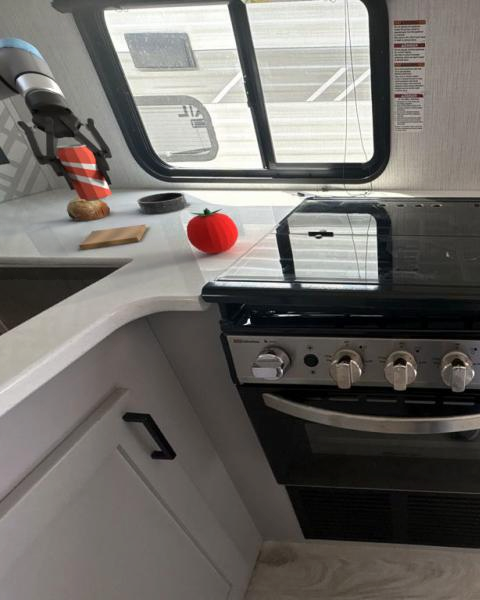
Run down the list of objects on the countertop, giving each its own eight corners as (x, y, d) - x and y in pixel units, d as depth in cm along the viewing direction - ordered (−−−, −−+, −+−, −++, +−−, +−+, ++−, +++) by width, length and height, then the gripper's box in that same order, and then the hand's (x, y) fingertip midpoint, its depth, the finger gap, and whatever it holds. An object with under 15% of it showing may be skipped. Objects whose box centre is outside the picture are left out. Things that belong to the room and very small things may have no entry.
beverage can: (118, 196, 83) (94, 144, 77) (89, 203, 78) (61, 148, 72) (104, 194, 85) (79, 143, 79) (75, 200, 80) (46, 147, 74)
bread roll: (75, 229, 104) (50, 209, 98) (99, 207, 109) (76, 187, 103) (98, 232, 102) (73, 212, 95) (121, 209, 107) (99, 189, 100)
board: (81, 249, 81) (78, 245, 80) (94, 235, 89) (92, 231, 89) (139, 241, 85) (137, 237, 84) (146, 228, 93) (145, 224, 93)
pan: (138, 216, 103) (133, 205, 101) (146, 205, 114) (141, 195, 112) (185, 210, 108) (182, 199, 106) (189, 200, 118) (185, 190, 116)
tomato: (190, 250, 79) (174, 209, 74) (235, 240, 85) (223, 200, 80) (200, 264, 72) (184, 220, 67) (248, 252, 78) (237, 210, 73)
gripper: (100, 113, 87) (140, 186, 86) (-3, 116, 76) (41, 201, 75) (93, 88, 81) (136, 167, 80) (-21, 89, 70) (27, 180, 69)
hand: (90, 183), depth 77 cm, fingers closed on beverage can, 6 cm apart
